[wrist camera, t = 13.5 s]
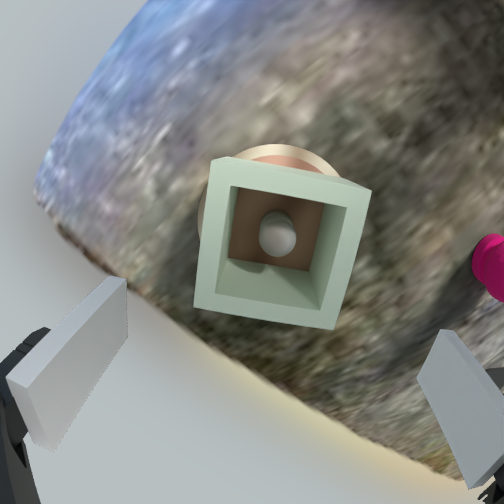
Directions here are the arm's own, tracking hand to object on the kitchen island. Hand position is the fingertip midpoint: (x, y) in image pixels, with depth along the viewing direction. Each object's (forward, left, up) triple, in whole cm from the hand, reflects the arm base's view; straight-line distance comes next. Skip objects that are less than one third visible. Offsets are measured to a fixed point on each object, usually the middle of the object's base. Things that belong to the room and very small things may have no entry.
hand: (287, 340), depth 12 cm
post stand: (0, 0, -21) cm, 21 cm away
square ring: (0, 0, -19) cm, 19 cm away
